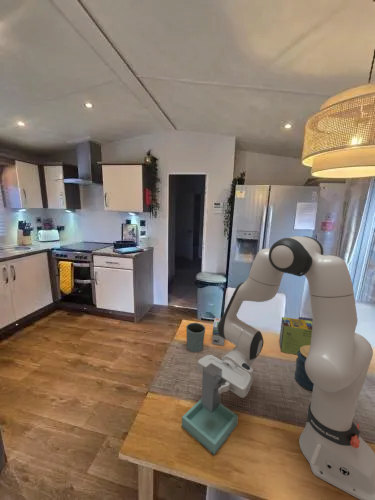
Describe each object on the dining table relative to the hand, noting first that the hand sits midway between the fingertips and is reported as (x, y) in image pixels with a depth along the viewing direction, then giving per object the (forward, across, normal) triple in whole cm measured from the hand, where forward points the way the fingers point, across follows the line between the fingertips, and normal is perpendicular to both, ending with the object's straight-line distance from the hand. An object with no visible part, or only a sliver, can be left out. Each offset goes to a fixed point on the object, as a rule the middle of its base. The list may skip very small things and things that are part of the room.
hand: (210, 386), depth 79 cm
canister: (-49, +20, +17) cm, 56 cm away
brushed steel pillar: (-1, 0, +8) cm, 8 cm away
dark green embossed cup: (-32, -33, +17) cm, 49 cm away
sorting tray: (-1, 0, +17) cm, 17 cm away
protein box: (-69, +7, +17) cm, 71 cm away
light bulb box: (-47, -28, +17) cm, 57 cm away
